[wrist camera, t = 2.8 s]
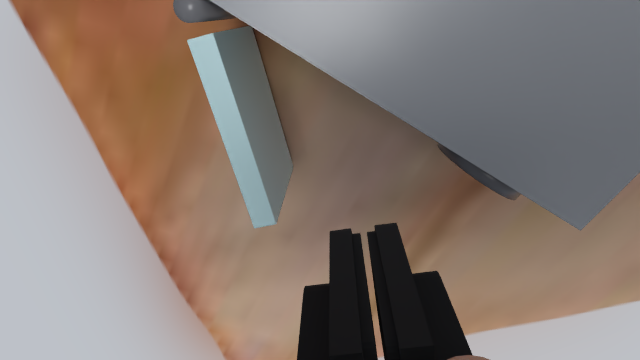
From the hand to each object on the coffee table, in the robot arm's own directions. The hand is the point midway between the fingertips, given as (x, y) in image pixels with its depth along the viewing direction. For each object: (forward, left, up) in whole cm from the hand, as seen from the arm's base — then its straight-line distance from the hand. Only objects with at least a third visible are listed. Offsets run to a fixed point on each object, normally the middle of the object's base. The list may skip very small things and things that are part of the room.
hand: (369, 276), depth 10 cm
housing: (0, -7, -14) cm, 16 cm away
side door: (+5, +2, -13) cm, 15 cm away
